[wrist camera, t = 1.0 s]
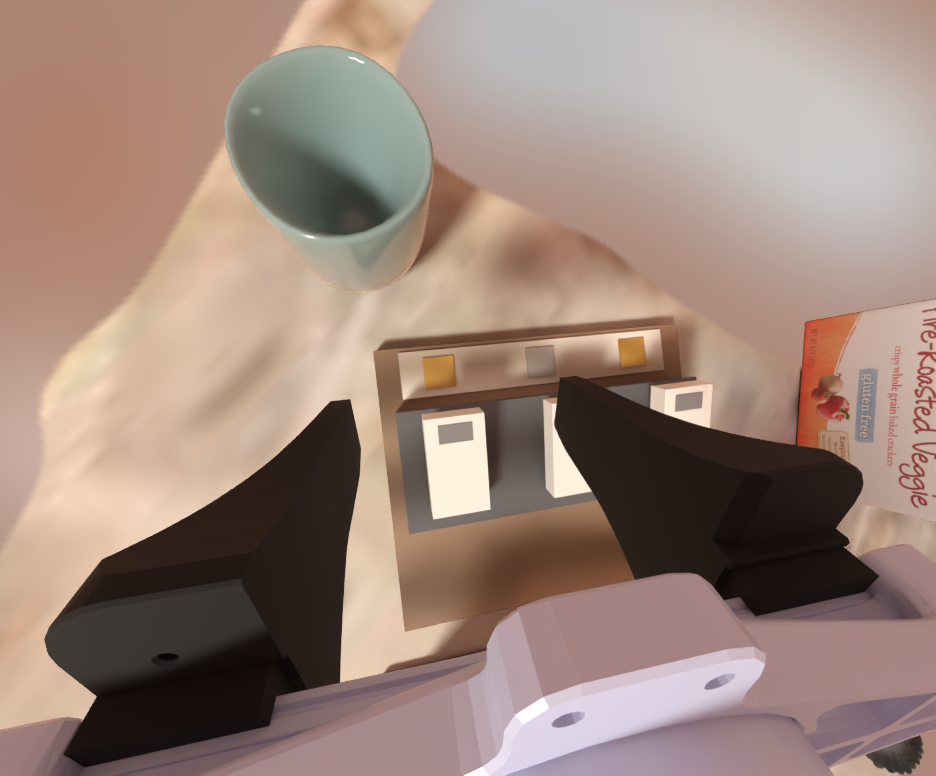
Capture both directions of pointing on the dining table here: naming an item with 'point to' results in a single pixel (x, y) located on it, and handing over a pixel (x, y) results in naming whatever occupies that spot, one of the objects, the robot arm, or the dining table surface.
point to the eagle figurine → (899, 756)
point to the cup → (334, 163)
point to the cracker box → (876, 401)
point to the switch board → (499, 541)
